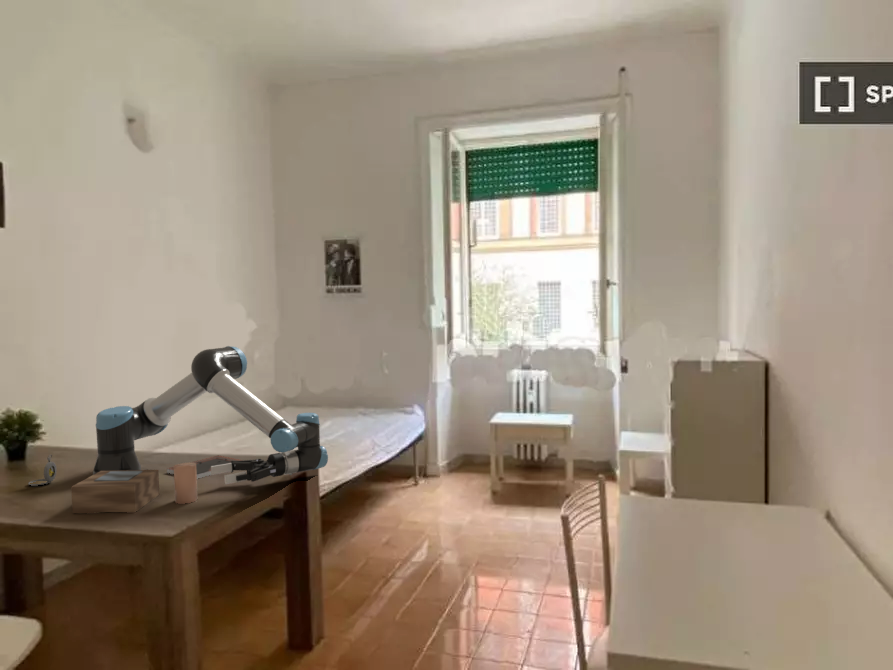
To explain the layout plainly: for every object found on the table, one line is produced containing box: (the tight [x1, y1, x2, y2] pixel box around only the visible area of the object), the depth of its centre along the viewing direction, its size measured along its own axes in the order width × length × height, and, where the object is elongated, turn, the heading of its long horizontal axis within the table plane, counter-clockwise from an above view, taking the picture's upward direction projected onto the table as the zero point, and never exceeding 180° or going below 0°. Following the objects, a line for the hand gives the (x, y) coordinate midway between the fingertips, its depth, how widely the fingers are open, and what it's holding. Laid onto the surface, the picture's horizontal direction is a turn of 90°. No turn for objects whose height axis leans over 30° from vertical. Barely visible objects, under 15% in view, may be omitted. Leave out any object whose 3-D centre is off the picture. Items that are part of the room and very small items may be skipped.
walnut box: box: [70, 469, 160, 514], centre depth 198 cm, size 17×18×8 cm
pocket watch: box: [27, 454, 58, 487], centre depth 220 cm, size 8×8×10 cm
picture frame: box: [166, 455, 241, 480], centre depth 237 cm, size 16×2×22 cm
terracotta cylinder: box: [173, 462, 199, 505], centre depth 200 cm, size 6×6×11 cm
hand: (217, 475), depth 205 cm, fingers open, 13 cm apart
